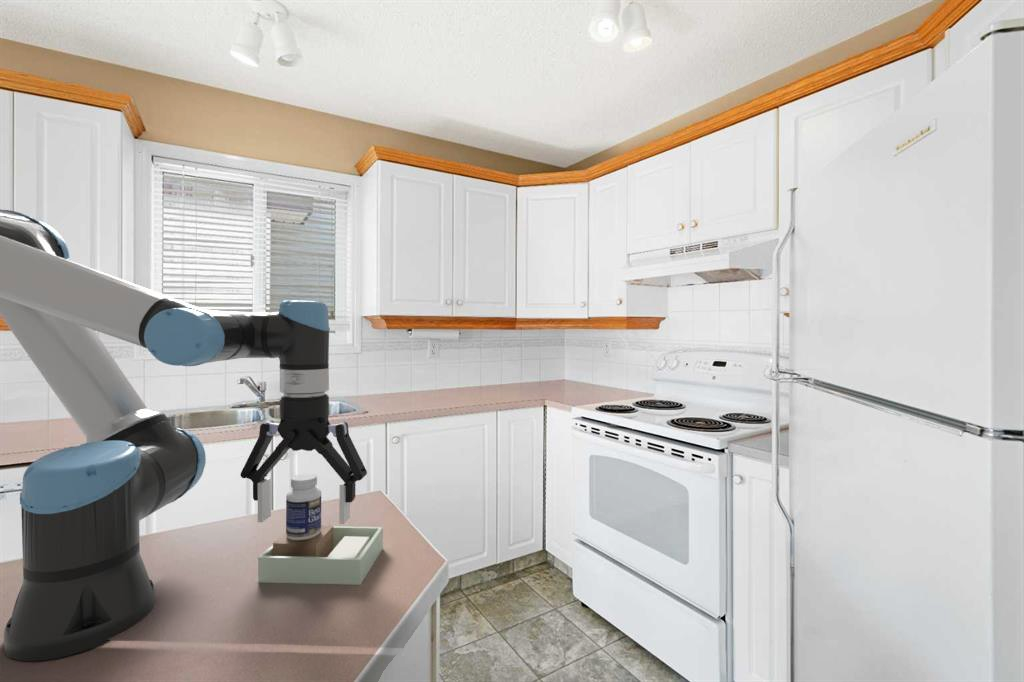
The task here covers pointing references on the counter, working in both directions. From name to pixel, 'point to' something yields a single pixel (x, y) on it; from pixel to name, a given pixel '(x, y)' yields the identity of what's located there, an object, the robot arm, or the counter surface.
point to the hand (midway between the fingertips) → (304, 520)
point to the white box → (350, 547)
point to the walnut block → (306, 545)
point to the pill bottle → (303, 508)
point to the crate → (323, 562)
